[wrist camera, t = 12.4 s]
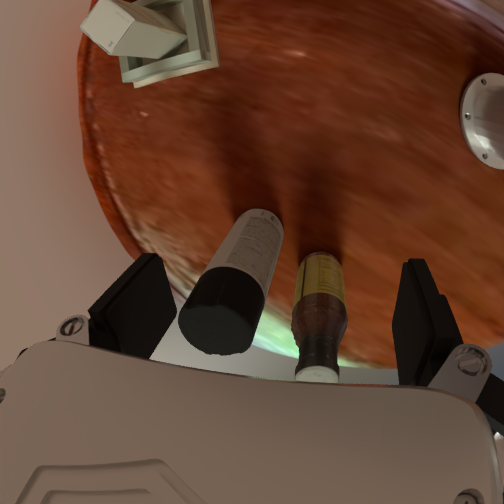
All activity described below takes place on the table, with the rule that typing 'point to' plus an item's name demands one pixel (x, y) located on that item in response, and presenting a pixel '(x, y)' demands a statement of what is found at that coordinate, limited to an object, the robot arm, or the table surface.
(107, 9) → the skincare box
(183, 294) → the table surface
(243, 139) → the table surface
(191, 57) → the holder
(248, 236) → the spray can
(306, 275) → the sauce bottle
